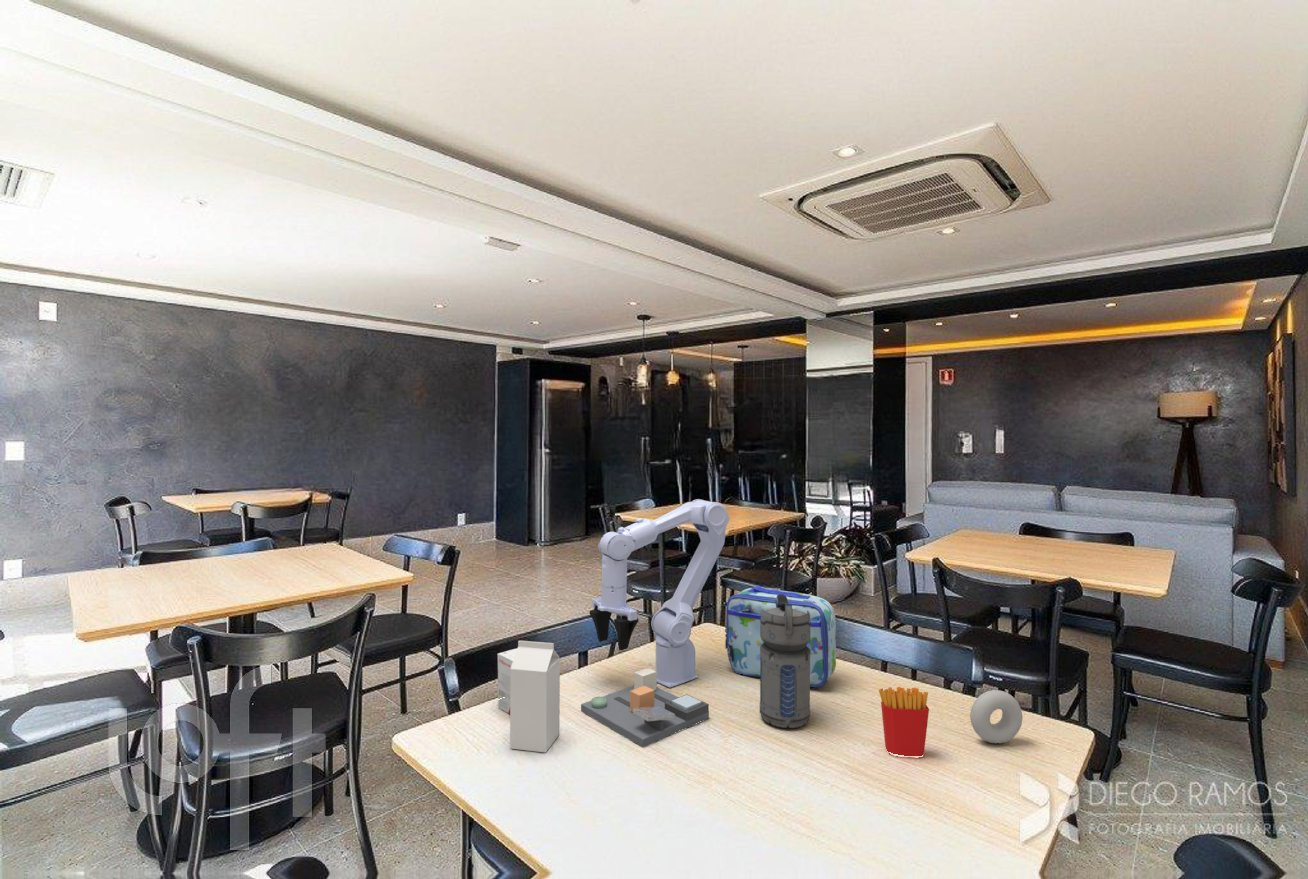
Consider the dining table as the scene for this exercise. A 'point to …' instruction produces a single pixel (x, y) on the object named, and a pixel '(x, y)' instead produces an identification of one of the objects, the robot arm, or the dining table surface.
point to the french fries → (904, 720)
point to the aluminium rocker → (653, 713)
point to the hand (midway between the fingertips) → (612, 644)
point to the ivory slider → (645, 679)
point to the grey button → (686, 702)
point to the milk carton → (534, 696)
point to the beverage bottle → (785, 665)
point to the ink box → (505, 678)
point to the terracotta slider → (641, 698)
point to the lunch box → (747, 641)
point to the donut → (1009, 719)
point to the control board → (642, 732)
